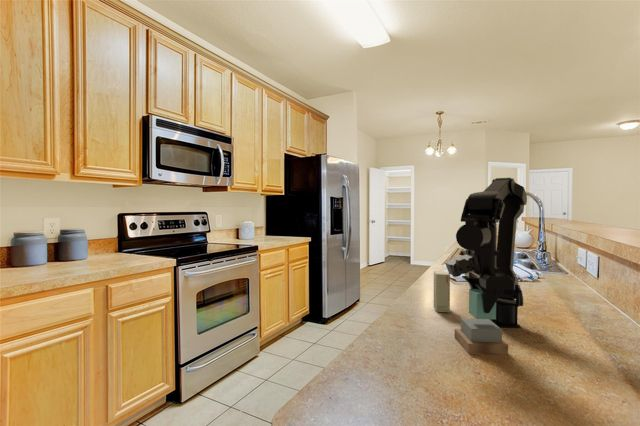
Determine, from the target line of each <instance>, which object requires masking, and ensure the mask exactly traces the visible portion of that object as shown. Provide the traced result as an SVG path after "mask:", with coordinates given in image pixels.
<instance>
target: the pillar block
mask: <svg viewBox="0 0 640 426" xmlns="http://www.w3.org/2000/svg"><path fill="white" fill-rule="evenodd" d="M468 314H469V315H471V316H472V317H473V318H474V319H496V303H495V304H494V306H493V308H492V309H491V311H490V313H484V309H483V302H482V294H481V290H480V289H471V288H469V289H468Z"/></svg>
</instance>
